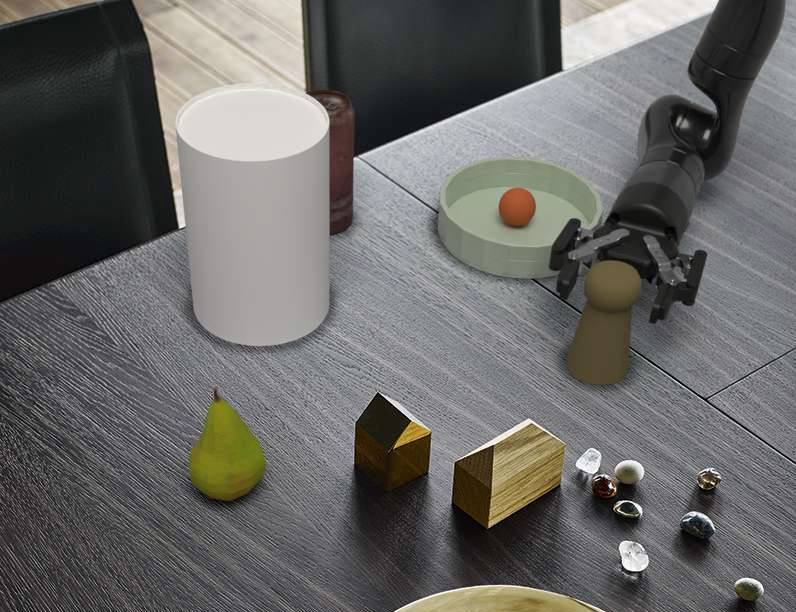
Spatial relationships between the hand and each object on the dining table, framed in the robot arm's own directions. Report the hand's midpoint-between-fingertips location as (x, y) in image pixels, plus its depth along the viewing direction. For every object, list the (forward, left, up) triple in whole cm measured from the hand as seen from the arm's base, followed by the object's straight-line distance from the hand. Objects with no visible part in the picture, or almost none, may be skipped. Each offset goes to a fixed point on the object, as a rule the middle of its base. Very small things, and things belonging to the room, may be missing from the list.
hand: (608, 304), depth 115 cm
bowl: (+7, -22, -8) cm, 25 cm away
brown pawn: (0, 0, -8) cm, 8 cm away
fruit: (+33, +19, -8) cm, 39 cm away
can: (+28, -22, -8) cm, 36 cm away
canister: (+33, -7, -8) cm, 35 cm away
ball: (+7, -23, -5) cm, 25 cm away
